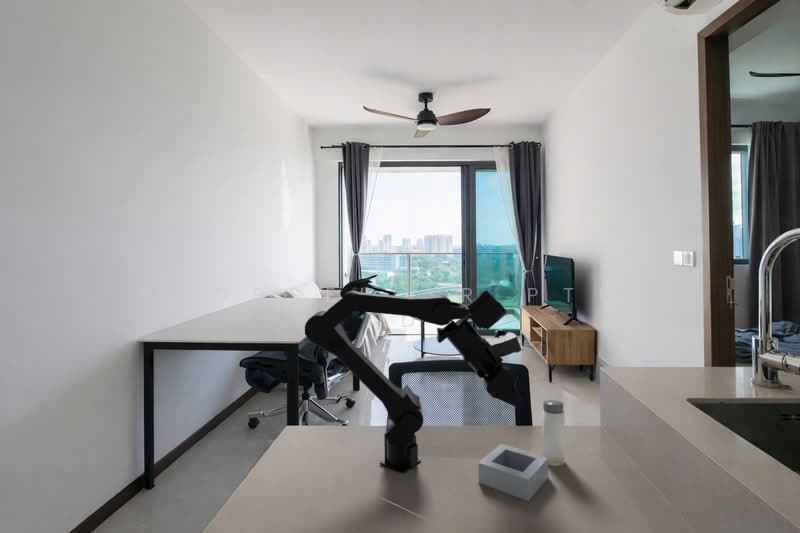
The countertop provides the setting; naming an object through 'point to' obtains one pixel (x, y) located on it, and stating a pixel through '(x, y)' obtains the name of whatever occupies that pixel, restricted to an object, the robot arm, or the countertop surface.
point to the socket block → (513, 471)
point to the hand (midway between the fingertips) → (517, 399)
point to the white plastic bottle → (553, 432)
